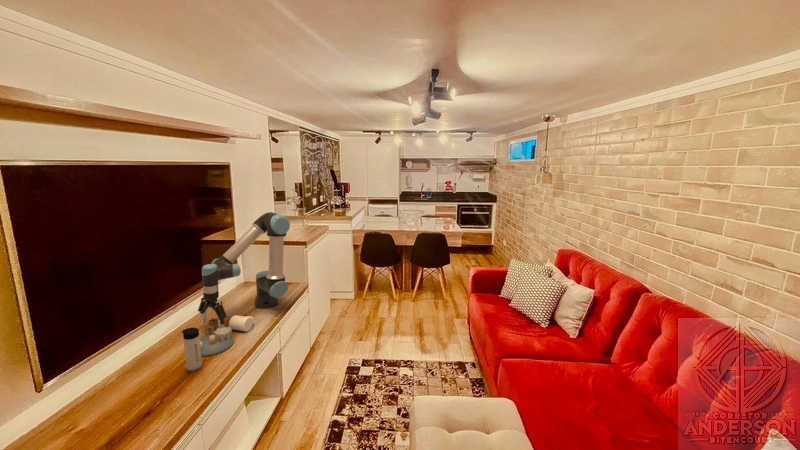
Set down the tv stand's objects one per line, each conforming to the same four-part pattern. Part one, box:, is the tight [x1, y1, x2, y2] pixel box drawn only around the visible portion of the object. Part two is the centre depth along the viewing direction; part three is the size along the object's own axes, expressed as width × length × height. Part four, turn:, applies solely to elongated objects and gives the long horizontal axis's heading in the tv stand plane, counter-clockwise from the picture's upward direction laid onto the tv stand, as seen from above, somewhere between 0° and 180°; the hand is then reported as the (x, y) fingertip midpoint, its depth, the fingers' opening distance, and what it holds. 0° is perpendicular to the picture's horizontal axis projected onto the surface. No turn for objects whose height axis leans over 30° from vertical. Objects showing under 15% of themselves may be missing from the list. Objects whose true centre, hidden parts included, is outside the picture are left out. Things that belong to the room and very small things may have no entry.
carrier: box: [200, 326, 235, 358], centre depth 172 cm, size 21×20×6 cm
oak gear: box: [204, 318, 219, 335], centre depth 185 cm, size 8×8×6 cm
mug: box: [228, 314, 254, 333], centre depth 190 cm, size 12×10×8 cm
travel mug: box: [181, 327, 203, 372], centre depth 152 cm, size 6×7×20 cm
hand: (212, 326), depth 185 cm, fingers open, 13 cm apart
